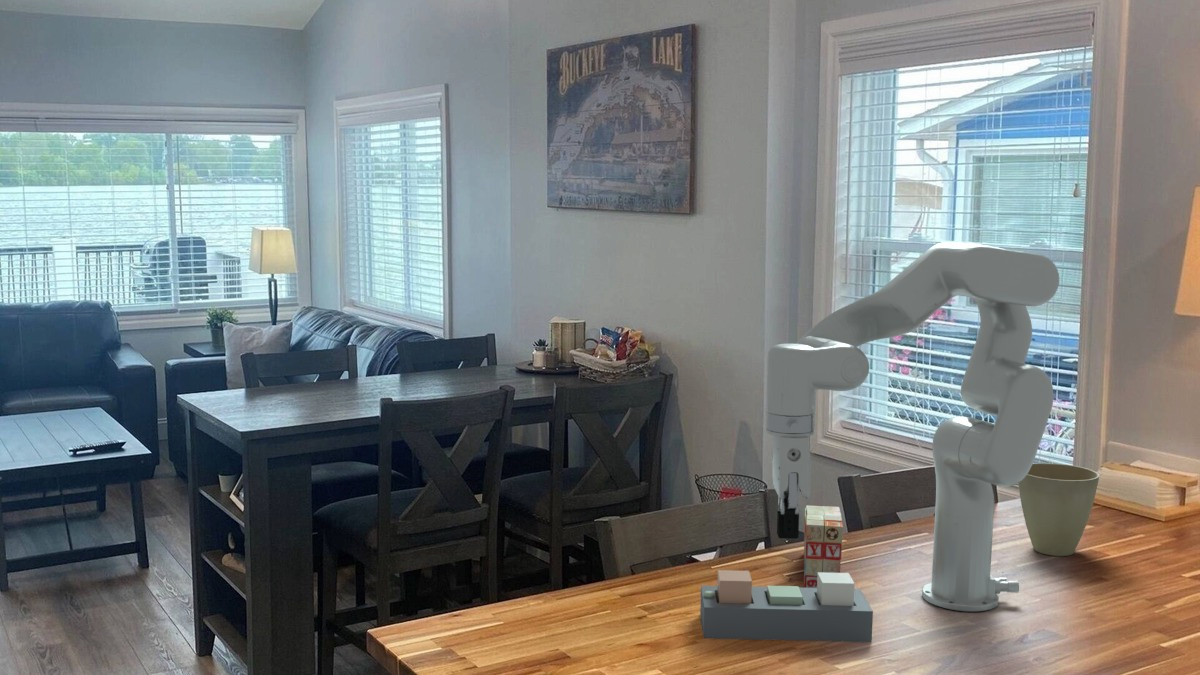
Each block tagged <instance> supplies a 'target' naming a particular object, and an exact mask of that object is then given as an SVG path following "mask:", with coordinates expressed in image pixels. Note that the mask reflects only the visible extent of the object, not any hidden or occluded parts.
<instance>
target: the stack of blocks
mask: <svg viewBox="0 0 1200 675" xmlns="http://www.w3.org/2000/svg"><path fill="white" fill-rule="evenodd" d="M803 520H804V522H803V523H804V525H803V526H804V532H803V533H804V539H803V540H804V541H803V542H804V543H803V569H804V572H803V573H804V574H803V588H817V574H818V572H825V573H841V563H842V561H841V560H842V553H843V552H842V551H843V550H842V549H843V530H844V529H843V528H844V526H843V519H842V513H841V509H840V506H829V505H827V506H826V505H822V506H821V505H805V507H804V518H803Z"/></svg>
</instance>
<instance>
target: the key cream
mask: <svg viewBox="0 0 1200 675" xmlns="http://www.w3.org/2000/svg"><path fill="white" fill-rule="evenodd" d="M854 589H855V582H854V580H853V578H852V576H851V575H850V572H840V573H825V572H818V574H817V601H818V603H819V605H831V606H854Z"/></svg>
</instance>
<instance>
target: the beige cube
mask: <svg viewBox="0 0 1200 675" xmlns="http://www.w3.org/2000/svg"><path fill="white" fill-rule="evenodd" d="M716 586H717V602H718V603H743V604H751V597H752V587H753V580H752V577H751V573H750V570H731V569H730V570H726V569H725V570H723V569H722V570H721V569H720V570H719V569H718V570H717V584H716Z"/></svg>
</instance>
